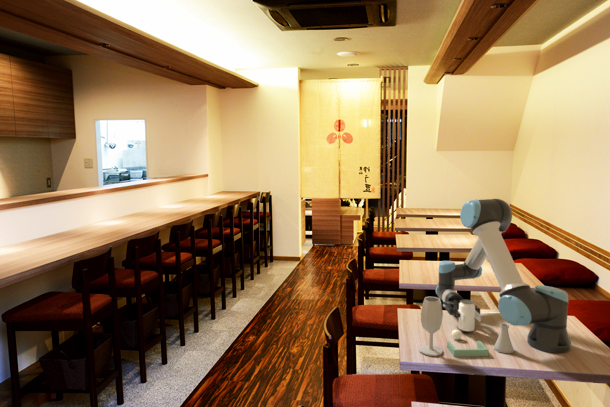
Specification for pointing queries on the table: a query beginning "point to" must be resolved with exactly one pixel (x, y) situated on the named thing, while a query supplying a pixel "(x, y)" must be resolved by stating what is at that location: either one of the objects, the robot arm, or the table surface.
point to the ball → (456, 334)
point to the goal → (468, 350)
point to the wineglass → (431, 323)
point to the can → (467, 315)
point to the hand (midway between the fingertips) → (471, 318)
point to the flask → (504, 340)
